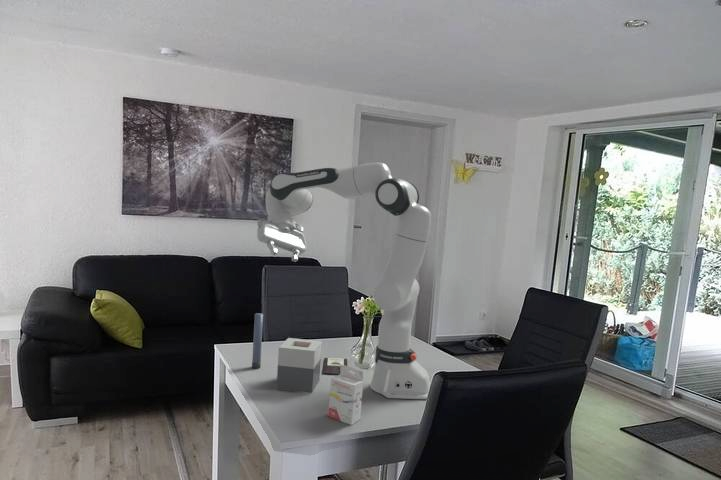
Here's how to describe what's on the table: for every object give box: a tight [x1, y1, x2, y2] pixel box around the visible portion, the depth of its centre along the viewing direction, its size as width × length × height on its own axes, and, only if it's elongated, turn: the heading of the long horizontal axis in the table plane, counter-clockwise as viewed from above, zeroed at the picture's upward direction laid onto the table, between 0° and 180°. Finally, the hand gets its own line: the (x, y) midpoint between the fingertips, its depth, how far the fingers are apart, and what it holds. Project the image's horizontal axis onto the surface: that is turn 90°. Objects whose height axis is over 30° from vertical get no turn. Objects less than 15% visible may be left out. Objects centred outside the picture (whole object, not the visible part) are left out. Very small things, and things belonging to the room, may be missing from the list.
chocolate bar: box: [322, 357, 348, 376], centre depth 187 cm, size 9×1×18 cm
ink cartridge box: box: [327, 365, 364, 426], centre depth 141 cm, size 9×5×15 cm, turn 58°
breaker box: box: [275, 337, 323, 394], centre depth 165 cm, size 12×12×14 cm
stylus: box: [251, 312, 264, 370], centre depth 179 cm, size 3×3×20 cm
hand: (284, 257), depth 172 cm, fingers open, 8 cm apart
